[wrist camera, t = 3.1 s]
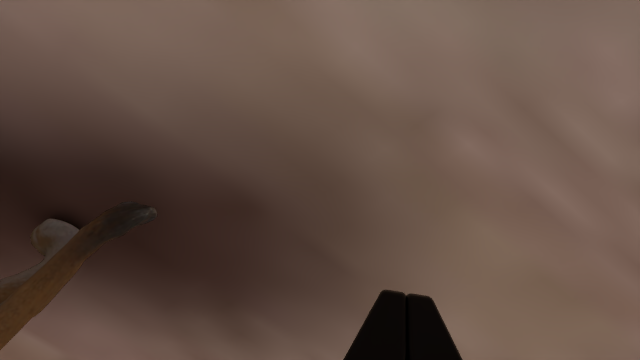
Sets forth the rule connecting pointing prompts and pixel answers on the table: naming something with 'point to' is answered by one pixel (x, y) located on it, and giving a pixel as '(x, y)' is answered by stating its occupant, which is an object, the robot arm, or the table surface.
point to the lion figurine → (60, 262)
